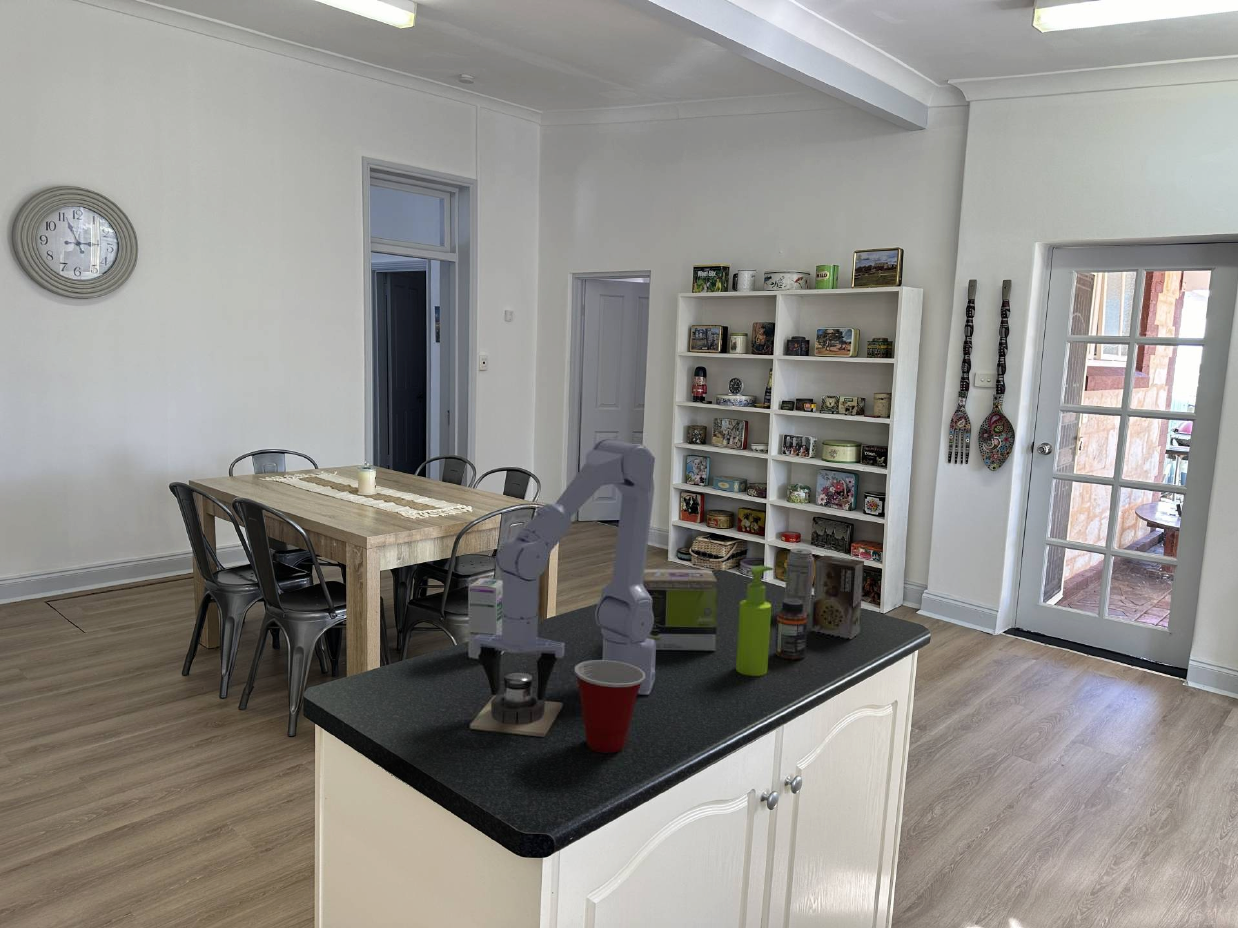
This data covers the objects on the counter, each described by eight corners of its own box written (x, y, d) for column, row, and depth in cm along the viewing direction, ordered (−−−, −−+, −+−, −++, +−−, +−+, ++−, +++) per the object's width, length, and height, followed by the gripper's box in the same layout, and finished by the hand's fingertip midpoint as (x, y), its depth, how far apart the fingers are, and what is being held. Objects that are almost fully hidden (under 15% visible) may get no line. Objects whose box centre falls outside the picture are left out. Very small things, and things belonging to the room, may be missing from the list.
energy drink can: (814, 614, 205) (819, 551, 203) (801, 619, 200) (806, 555, 198) (792, 608, 209) (796, 546, 207) (778, 613, 204) (782, 550, 202)
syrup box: (496, 661, 167) (497, 587, 165) (466, 657, 169) (467, 584, 167) (506, 651, 173) (507, 579, 171) (477, 648, 174) (478, 576, 172)
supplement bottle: (782, 648, 181) (785, 594, 179) (809, 654, 177) (813, 600, 176) (769, 656, 176) (773, 601, 174) (797, 663, 172) (801, 607, 171)
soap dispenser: (776, 669, 169) (782, 567, 166) (755, 678, 164) (762, 573, 161) (750, 661, 172) (756, 561, 170) (729, 669, 167) (735, 567, 165)
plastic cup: (656, 750, 133) (660, 674, 131) (595, 767, 127) (598, 687, 125) (617, 723, 142) (620, 652, 140) (559, 737, 136) (561, 663, 134)
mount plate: (562, 706, 148) (562, 691, 148) (543, 736, 136) (544, 720, 136) (493, 698, 150) (494, 684, 150) (469, 728, 138) (470, 712, 138)
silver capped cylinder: (534, 708, 145) (535, 673, 144) (527, 720, 141) (528, 684, 140) (507, 706, 146) (508, 671, 145) (500, 717, 141) (501, 681, 140)
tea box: (709, 636, 187) (712, 568, 185) (715, 652, 177) (719, 581, 175) (638, 634, 186) (641, 566, 184) (641, 650, 176) (644, 578, 174)
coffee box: (860, 632, 193) (865, 560, 191) (851, 640, 187) (856, 566, 185) (820, 624, 198) (825, 553, 195) (810, 631, 192) (814, 559, 190)
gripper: (468, 617, 138) (466, 699, 140) (557, 625, 136) (555, 709, 137) (482, 604, 145) (481, 683, 147) (568, 612, 142) (566, 692, 144)
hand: (518, 695), depth 143 cm, fingers open, 7 cm apart
